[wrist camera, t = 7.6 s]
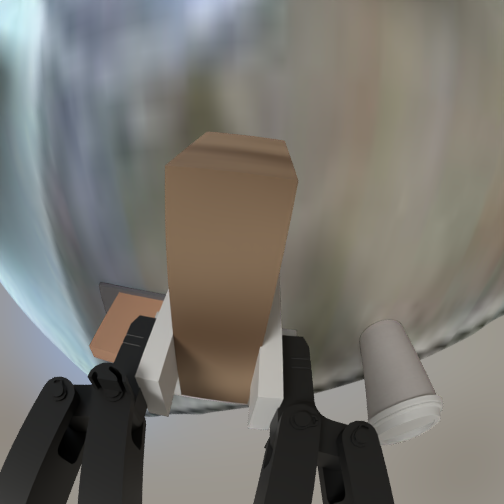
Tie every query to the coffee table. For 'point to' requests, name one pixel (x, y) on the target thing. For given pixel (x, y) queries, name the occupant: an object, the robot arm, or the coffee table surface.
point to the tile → (120, 323)
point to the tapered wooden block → (225, 257)
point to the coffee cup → (396, 385)
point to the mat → (111, 292)
